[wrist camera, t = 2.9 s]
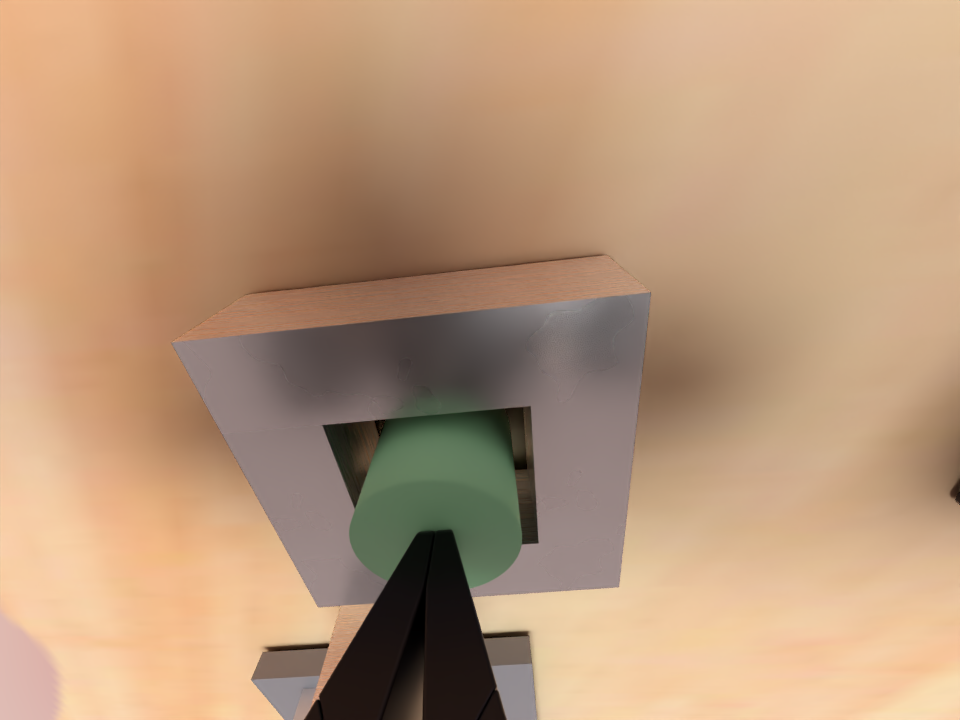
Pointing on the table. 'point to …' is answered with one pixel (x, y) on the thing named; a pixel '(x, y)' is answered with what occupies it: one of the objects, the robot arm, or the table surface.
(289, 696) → the grey slotted socket base
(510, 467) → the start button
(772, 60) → the table surface
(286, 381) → the square peg board
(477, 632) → the robot arm
